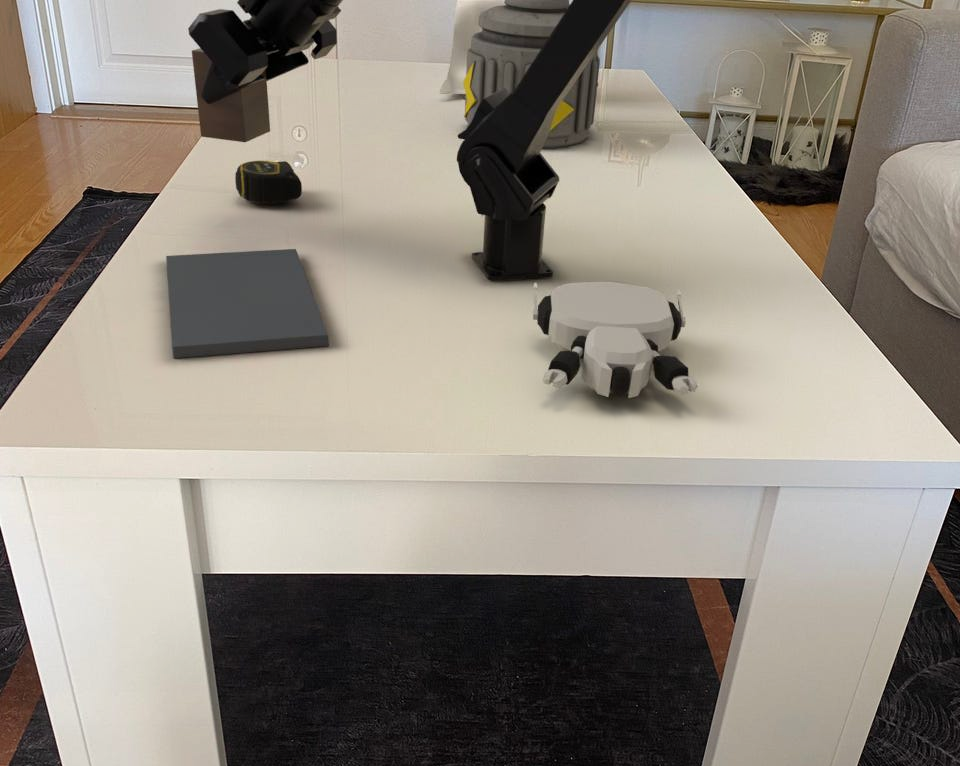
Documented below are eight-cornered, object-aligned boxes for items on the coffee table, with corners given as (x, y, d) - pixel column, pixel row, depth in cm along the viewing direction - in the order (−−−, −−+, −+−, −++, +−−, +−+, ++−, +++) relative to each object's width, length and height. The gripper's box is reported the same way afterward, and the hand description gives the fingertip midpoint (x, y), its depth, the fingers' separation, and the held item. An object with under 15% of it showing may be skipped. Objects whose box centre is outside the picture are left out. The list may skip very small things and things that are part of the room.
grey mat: (328, 346, 79) (328, 334, 79) (173, 358, 76) (172, 346, 75) (296, 258, 95) (295, 248, 95) (167, 265, 92) (166, 255, 92)
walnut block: (270, 131, 100) (264, 47, 96) (245, 142, 96) (237, 55, 92) (227, 125, 101) (219, 42, 97) (200, 136, 97) (191, 50, 93)
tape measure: (303, 208, 108) (302, 174, 106) (240, 211, 106) (237, 176, 104) (294, 190, 114) (292, 157, 112) (233, 192, 112) (231, 159, 110)
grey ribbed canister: (616, 146, 138) (645, -100, 122) (492, 153, 131) (505, -106, 115) (558, 115, 152) (577, -109, 136) (444, 120, 146) (450, -114, 130)
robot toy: (699, 425, 72) (672, 327, 84) (710, 372, 70) (680, 279, 82) (533, 417, 72) (529, 320, 84) (537, 364, 70) (533, 271, 82)
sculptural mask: (434, 99, 157) (436, -15, 148) (465, 86, 166) (468, -21, 158) (534, 113, 151) (542, -4, 143) (559, 99, 161) (569, -11, 152)
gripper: (303, -100, 94) (214, 15, 103) (195, -94, 79) (101, 41, 88) (379, -3, 97) (286, 102, 105) (289, 21, 82) (188, 141, 90)
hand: (219, 94), depth 97 cm, fingers closed on walnut block, 5 cm apart
